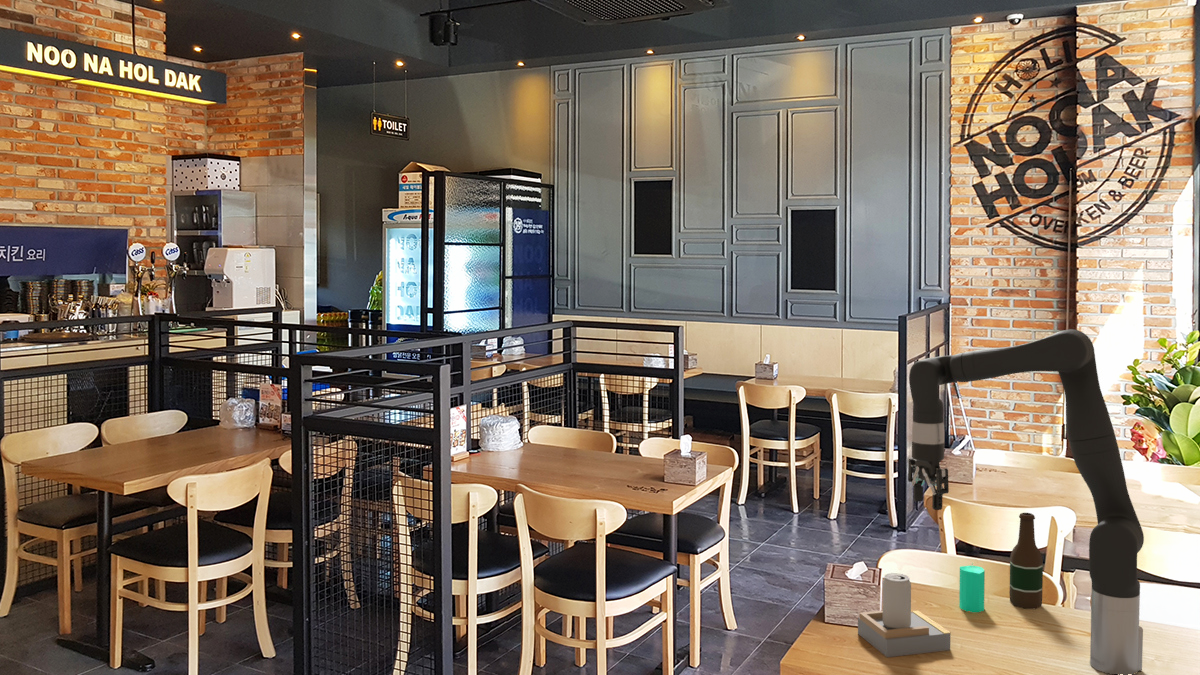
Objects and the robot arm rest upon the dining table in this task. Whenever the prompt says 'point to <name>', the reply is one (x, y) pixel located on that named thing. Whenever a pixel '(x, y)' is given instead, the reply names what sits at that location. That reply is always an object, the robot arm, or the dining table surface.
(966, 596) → the candle
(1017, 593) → the beer bottle
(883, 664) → the dining table surface
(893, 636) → the dock
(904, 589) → the beverage can
